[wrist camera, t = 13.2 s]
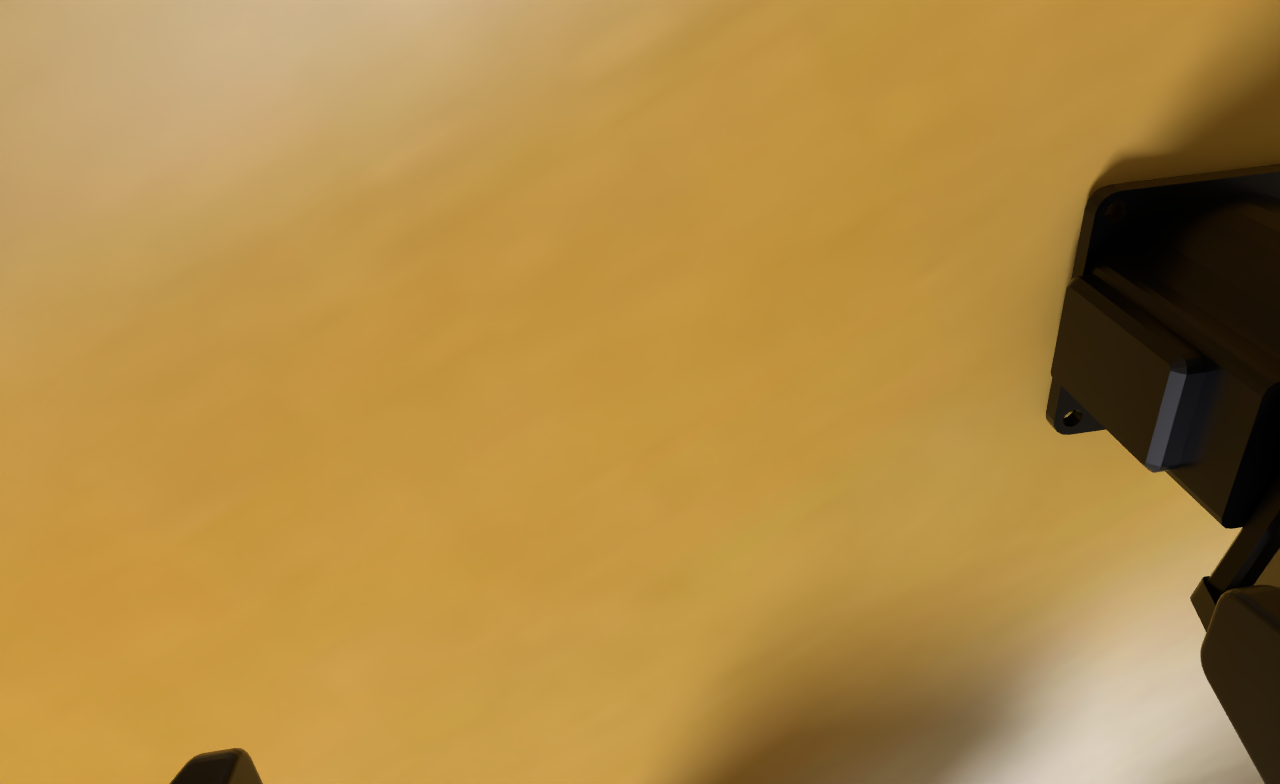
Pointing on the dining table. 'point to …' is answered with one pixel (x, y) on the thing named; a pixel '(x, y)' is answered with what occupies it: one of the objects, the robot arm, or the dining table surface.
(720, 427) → the dining table surface
